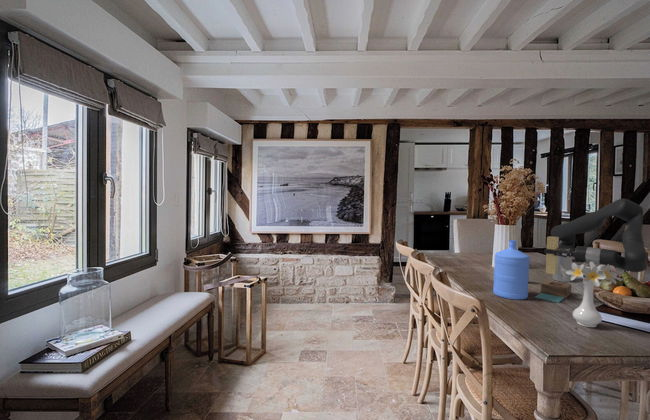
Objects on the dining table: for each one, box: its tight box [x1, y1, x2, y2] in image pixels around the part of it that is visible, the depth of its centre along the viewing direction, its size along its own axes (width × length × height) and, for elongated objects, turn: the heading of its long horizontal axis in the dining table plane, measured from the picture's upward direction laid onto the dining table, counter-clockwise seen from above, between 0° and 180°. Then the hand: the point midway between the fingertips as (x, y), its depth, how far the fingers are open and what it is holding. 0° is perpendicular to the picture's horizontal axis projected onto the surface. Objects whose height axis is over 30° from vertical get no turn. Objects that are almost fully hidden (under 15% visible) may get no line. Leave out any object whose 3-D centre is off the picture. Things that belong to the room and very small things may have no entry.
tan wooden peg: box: [545, 236, 560, 275], centre depth 170 cm, size 4×4×18 cm
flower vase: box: [560, 262, 618, 328], centre depth 136 cm, size 13×18×25 cm
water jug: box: [492, 239, 531, 301], centre depth 174 cm, size 16×16×28 cm
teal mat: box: [535, 292, 565, 304], centre depth 171 cm, size 10×10×1 cm
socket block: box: [540, 280, 572, 299], centre depth 179 cm, size 11×11×5 cm
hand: (545, 250), depth 172 cm, fingers closed on tan wooden peg, 4 cm apart
